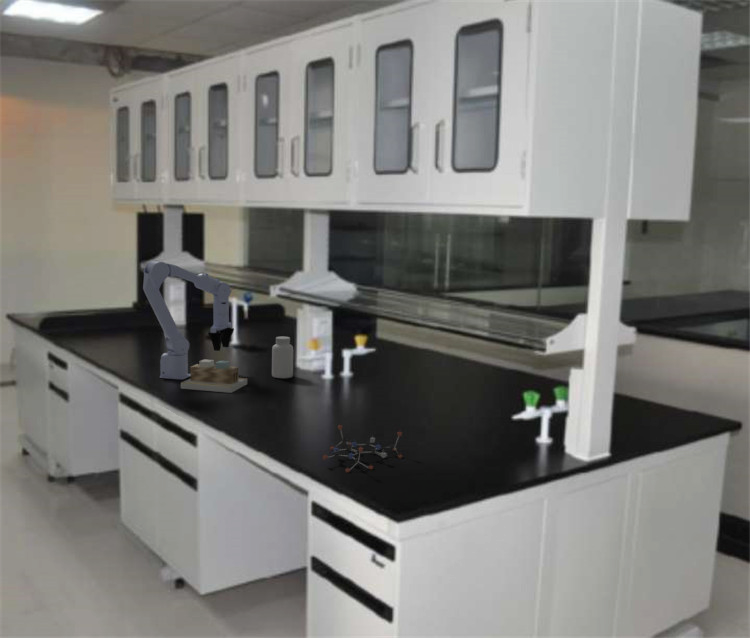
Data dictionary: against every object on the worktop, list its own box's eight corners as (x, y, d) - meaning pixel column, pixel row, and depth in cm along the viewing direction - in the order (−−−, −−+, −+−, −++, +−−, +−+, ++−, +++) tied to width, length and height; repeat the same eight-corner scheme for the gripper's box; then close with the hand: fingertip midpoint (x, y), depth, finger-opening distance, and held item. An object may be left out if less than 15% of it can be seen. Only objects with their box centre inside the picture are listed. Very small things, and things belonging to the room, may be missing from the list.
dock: (180, 388, 281) (180, 382, 281) (198, 380, 295) (198, 374, 295) (231, 392, 277) (231, 386, 277) (247, 384, 290) (247, 378, 290)
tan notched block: (190, 380, 285) (190, 366, 284) (197, 377, 290) (196, 364, 289) (232, 383, 281) (232, 369, 281) (238, 380, 286) (238, 367, 285)
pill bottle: (289, 379, 299) (289, 339, 297) (268, 378, 301) (269, 338, 299) (295, 375, 307) (296, 336, 305) (275, 373, 309) (275, 335, 306)
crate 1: (199, 366, 284) (199, 361, 284) (204, 364, 288) (204, 359, 288) (209, 367, 284) (209, 362, 283) (214, 365, 287) (213, 360, 287)
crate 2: (215, 368, 283) (215, 362, 283) (219, 366, 287) (219, 360, 286) (225, 368, 282) (225, 363, 282) (229, 366, 286) (229, 361, 285)
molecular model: (416, 458, 212) (366, 440, 226) (417, 432, 211) (366, 416, 225) (347, 477, 196) (298, 457, 210) (348, 449, 195) (298, 430, 209)
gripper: (222, 316, 296) (223, 352, 298) (238, 311, 310) (238, 346, 312) (205, 315, 298) (205, 351, 300) (221, 310, 312) (222, 345, 314)
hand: (221, 348), depth 306 cm, fingers open, 7 cm apart
